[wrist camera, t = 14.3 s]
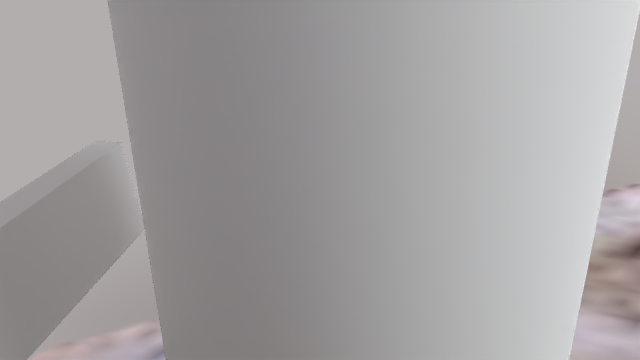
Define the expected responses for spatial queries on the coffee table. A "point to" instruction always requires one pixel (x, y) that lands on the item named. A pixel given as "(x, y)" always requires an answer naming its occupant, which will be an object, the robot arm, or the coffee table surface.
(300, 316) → the champagne flute
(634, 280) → the coffee table surface
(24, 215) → the robot arm
